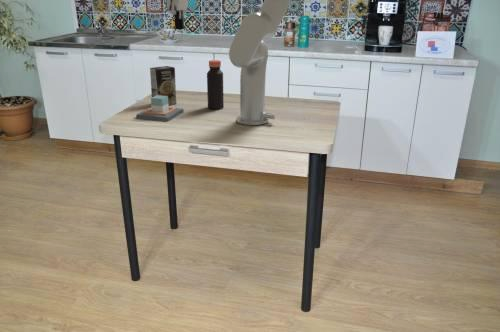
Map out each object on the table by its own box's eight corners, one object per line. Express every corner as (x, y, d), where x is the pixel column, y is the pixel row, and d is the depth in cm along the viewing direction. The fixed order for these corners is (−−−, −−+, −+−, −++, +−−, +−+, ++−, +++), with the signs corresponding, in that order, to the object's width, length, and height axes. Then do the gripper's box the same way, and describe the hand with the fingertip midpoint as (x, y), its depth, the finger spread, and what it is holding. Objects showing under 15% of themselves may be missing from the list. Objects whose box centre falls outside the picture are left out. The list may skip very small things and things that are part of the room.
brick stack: (168, 110, 192) (167, 96, 190) (163, 113, 188) (162, 98, 186) (157, 109, 194) (156, 95, 192) (151, 112, 189) (150, 97, 187)
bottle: (221, 110, 199) (220, 62, 192) (206, 109, 200) (204, 62, 193) (225, 106, 205) (224, 59, 198) (210, 105, 206) (208, 59, 199)
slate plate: (183, 112, 196) (183, 106, 195) (168, 121, 183) (167, 115, 182) (153, 109, 200) (153, 104, 199) (136, 118, 187) (136, 112, 186)
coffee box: (159, 107, 204) (156, 69, 197) (151, 104, 208) (149, 67, 202) (177, 103, 209) (175, 67, 203) (169, 101, 214) (167, 65, 207)
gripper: (175, -21, 188) (178, 27, 194) (158, -21, 174) (162, 30, 181) (193, -21, 186) (195, 27, 192) (177, -21, 172) (180, 31, 179)
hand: (179, 29), depth 187 cm, fingers closed
